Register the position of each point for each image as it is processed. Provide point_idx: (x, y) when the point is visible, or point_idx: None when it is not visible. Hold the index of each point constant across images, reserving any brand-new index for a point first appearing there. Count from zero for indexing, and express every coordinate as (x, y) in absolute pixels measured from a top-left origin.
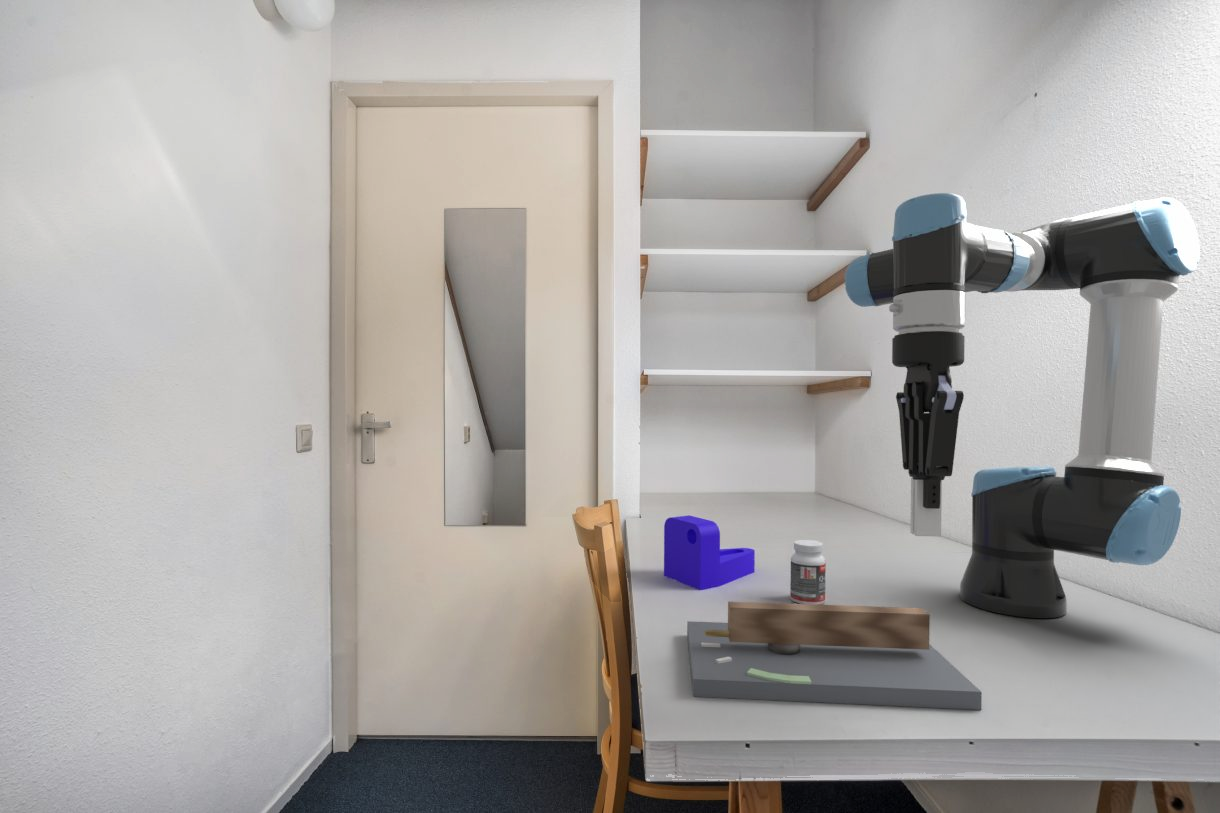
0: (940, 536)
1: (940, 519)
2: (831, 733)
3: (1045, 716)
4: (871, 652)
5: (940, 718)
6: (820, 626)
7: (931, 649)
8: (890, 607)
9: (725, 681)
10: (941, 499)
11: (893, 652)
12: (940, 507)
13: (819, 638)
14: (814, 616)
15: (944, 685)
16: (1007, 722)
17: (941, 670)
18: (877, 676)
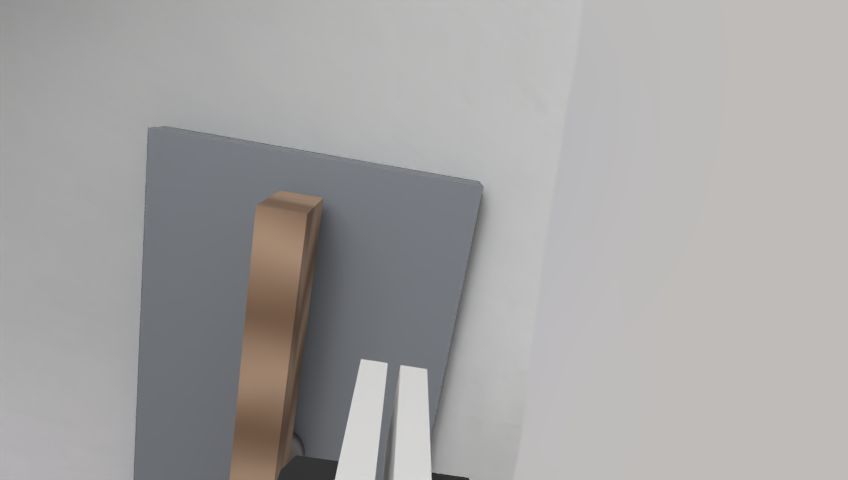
0: (426, 371)
1: (427, 412)
2: (519, 444)
3: (512, 78)
4: None
5: (497, 268)
6: (287, 429)
7: (276, 159)
8: (252, 284)
9: None
10: (429, 475)
11: None
12: (428, 449)
13: (292, 415)
14: (279, 454)
15: (451, 239)
16: (523, 165)
17: (387, 205)
18: (405, 338)
